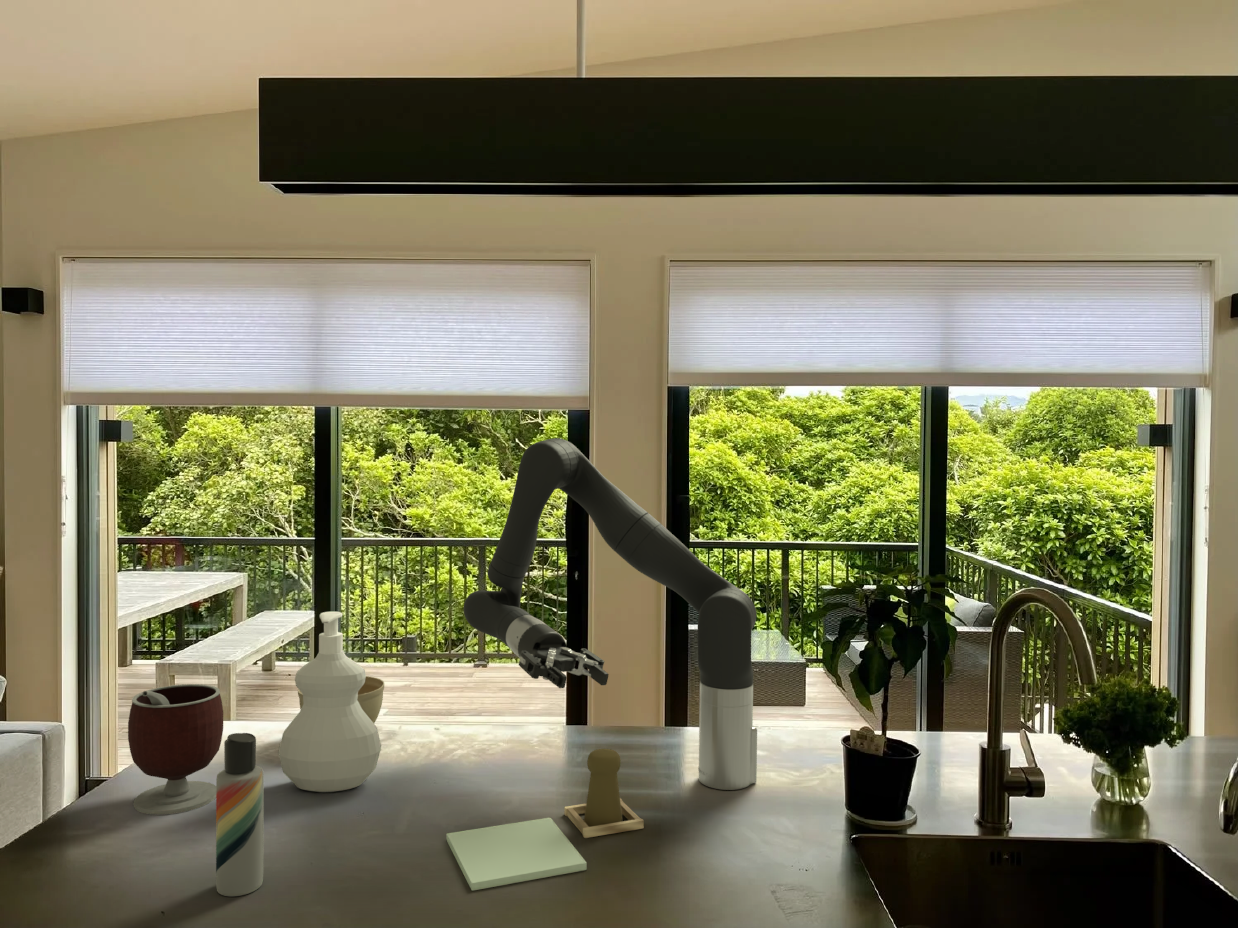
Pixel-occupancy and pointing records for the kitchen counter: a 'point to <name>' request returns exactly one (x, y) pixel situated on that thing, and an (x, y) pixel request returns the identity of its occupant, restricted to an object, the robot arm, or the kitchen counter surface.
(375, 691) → the planter bowl
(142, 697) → the mate gourd
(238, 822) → the lotion bottle
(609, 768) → the cork
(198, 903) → the kitchen counter surface
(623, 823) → the oak holder frame
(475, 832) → the sage board
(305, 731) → the soap bottle
